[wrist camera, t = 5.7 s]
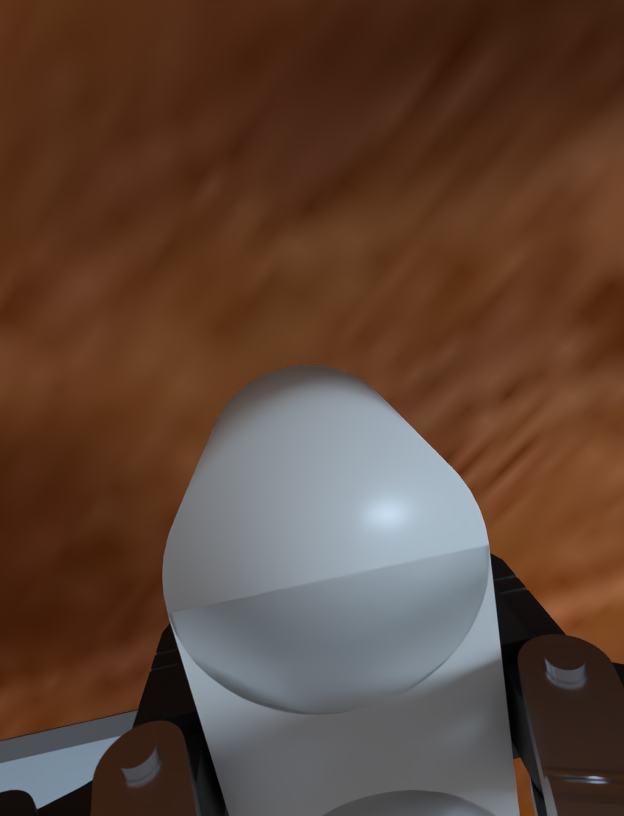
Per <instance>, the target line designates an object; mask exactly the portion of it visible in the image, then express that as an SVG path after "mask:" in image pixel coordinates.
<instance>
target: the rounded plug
mask: <svg viewBox="0 0 624 816" xmlns="http://www.w3.org/2000/svg"><path fill="white" fill-rule="evenodd" d="M162 579H163V594H164V599H165V603H166V608H167V612H168V616H169V619H170V622H171V626H172V629H173V632H174V636H175V639H176V642H177V646H178V649H179V652H180V655H181V659H182V662H183V665H184V669H185V672H186V675H187V678H188V682H189V685H190V688H191V692H192V695H193V698H194V702H195V705H196V708H197V711H198V715H199V718H200V721H201V725H202V728H203V731H204V735H205V738H206V741H207V744H208V748H209V751H210V754H211V758H212V761H213V764H214V767H215V771H216V774H217V777H218V781H219V784H220V787H221V791H222V794H223V797H224V800H225V804H226V807H227V810H228V814H229V816H520V815H519V807H518V798H517V789H516V780H515V771H514V762H513V753H512V745H511V736H510V727H509V718H508V709H507V700H506V691H505V682H504V674H503V665H502V656H501V647H500V638H499V629H498V620H497V612H496V603H495V594H494V585H493V576H492V567H491V558H490V549H489V542H488V537H487V532H486V526H485V523H484V520H483V517H482V515H481V512H480V509H479V507H478V505H477V503H476V501H475V499H474V497H473V495H472V493H471V491H470V490H469V488H468V487H467V486H466V484H465V483H464V481H463V480H462V479H461V477H460V476H459V475H458V473H457V472H456V471H455V470H454V469H453V468H452V467H451V466H450V465H449V464H448V463H447V462H446V461H445V460H444V459H443V458H442V457H441V456H440V455H439V454H438V453H437V452H436V451H435V450H434V449H433V448H432V447H431V446H430V445H429V444H428V443H427V442H426V441H425V440H424V439H423V438H422V437H421V436H420V435H419V434H418V433H417V432H416V431H415V430H414V429H413V428H412V427H411V426H410V425H409V424H408V423H407V422H406V421H405V420H404V419H403V418H402V417H401V416H400V415H399V414H398V413H397V412H396V411H395V410H394V409H393V408H392V407H391V406H390V405H389V404H388V403H387V402H386V401H385V400H384V399H383V398H382V397H381V396H380V395H379V394H378V392H377V391H376V390H374V389H373V388H372V387H371V386H369V385H368V384H367V383H365V382H364V381H362V380H361V379H359V378H357V377H355V376H354V375H351V374H349V373H347V372H344V371H342V370H338V369H334V368H331V367H326V366H318V365H299V366H291V367H286V368H282V369H278V370H274V371H272V372H270V373H267V374H265V375H262V376H260V377H259V378H257V379H255V380H254V381H252V382H250V383H249V384H247V385H246V386H245V387H244V388H242V389H241V390H240V391H239V392H238V393H237V394H236V395H235V396H234V397H233V398H232V399H231V400H230V401H229V402H228V403H227V405H226V406H225V407H224V409H223V410H222V411H221V413H220V415H219V417H218V418H217V420H216V422H215V424H214V427H213V429H212V431H211V434H210V436H209V439H208V441H207V443H206V446H205V448H204V451H203V453H202V455H201V458H200V460H199V462H198V465H197V467H196V470H195V472H194V474H193V477H192V479H191V481H190V484H189V486H188V489H187V491H186V493H185V496H184V498H183V500H182V503H181V505H180V508H179V510H178V512H177V515H176V517H175V520H174V522H173V525H172V527H171V530H170V533H169V535H168V539H167V543H166V548H165V552H164V559H163V571H162Z"/></svg>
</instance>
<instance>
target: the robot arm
mask: <svg viewBox="0 0 624 816" xmlns="http://www.w3.org/2000/svg"><path fill="white" fill-rule="evenodd" d="M490 558H491V567H492V576H493V585H494V594H495V603H496V612H497V620H498V629H499V638H500V647H501V656H502V665H503V674H504V682H505V691H506V700H507V709H508V718H509V727H510V736H511V745H512V753H513V759H515V758H519V757H521V759H522V761H523V763H524V765H525V767H526V769H527V771H528V773H529V776H530V785H531V795H532V800H533V805H534V810H535V815H536V816H624V664H618V663H613V662H611V660H610V659H609V658H608V657H607V655H606V654H605V653H604V652H602V651H601V650H600V649H599V648H597V647H596V646H594V645H593V644H591V643H589V642H587V641H585V640H582V639H579V638H576V637H573V636H568V635H566V634H565V633H564V632H563V631H562V630H561V628H560V627H559V626H558V625H557V624H556V623H555V621H554V620H553V619H552V618H551V617H550V615H549V614H548V613H547V612H546V611H545V609H544V608H543V607H542V606H541V605H540V603H539V602H538V601H537V600H536V599H535V598H534V596H533V595H532V594H531V593H530V592H529V590H526V587H525V586H524V584H523V583H522V582H521V581H520V580H519V579H518V578H516V576H515V574H514V573H513V571H512V570H511V569H510V568H509V567H508V565H507V564H506V563H505V562H504V561H503V560H502V559H500V558H498V557H496V556H494V555H493V554H491V553H490ZM156 652H157V655H155V658H154V661H153V664H152V667H151V668H152V671H151V672H150V673H149V676H148V680H147V683H146V686H145V689H144V692H143V695H142V698H141V702H140V705H139V708H138V711H137V714H136V717H135V720H134V724H133V727H132V729H131V730H129V731H128V732H126V733H125V734H123V735H122V736H121V737H119V738H118V739H117V740H116V741H115V742H114V743H113V744H112V745H111V746H110V747H109V748H108V749H107V750H106V752H105V753H104V754H103V756H102V757H101V759H100V760H99V762H98V764H97V766H96V769H95V772H94V775H93V780H91V781H90V782H88V783H87V784H85V785H83V786H81V787H80V788H78V789H76V790H74V791H72V792H70V793H68V794H66V795H64V796H62V797H60V798H58V799H56V800H54V801H52V802H50V803H48V804H46V805H45V806H43V807H41V808H39V809H37V807H36V805H35V803H34V800H33V798H32V797H31V795H30V794H29V793H27V792H25V791H22V790H8V791H3V792H0V816H229V814H228V810H227V807H226V804H225V800H224V797H223V794H222V791H221V787H220V784H219V781H218V777H217V774H216V771H215V767H214V764H213V761H212V758H211V754H210V751H209V748H208V744H207V741H206V738H205V735H204V731H203V728H202V725H201V721H200V718H199V715H198V711H197V708H196V705H195V702H194V698H193V695H192V692H191V688H190V685H189V682H188V678H187V675H186V672H185V669H184V665H183V662H182V659H181V655H180V652H179V649H178V646H177V642H176V639H175V636H174V632H173V629H172V626H171V623H170V624H169V625H168V626H167V628H166V629H165V630H164V631H163V633H162V635H161V639H160V642H159V645H158V648H157V651H156Z"/></svg>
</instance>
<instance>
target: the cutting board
mask: <svg viewBox="0 0 624 816" xmlns="http://www.w3.org/2000/svg"><path fill="white" fill-rule="evenodd" d="M137 711H138V710H137ZM137 711H132V712H128V713H124V714H119V715H115V716H110V717H106V718H102V719H97V720H93V721H88V722H84V723H79V724H75V725H71V726H66V727H62V728H57V729H53V730H49V731H44V732H40V733H35V734H31V735H26V736H22V737H18V738H13V739H9V740H4V741H0V792H3V791H8V790H22V791H25V792H27V793H29V794H30V795H31V797H32V798H33V800H34V803H35V805H36V807H37V809H39V808H41V807H43V806H45V805H46V804H48V803H50V802H52V801H54V800H56V799H58V798H60V797H62V796H64V795H66V794H68V793H70V792H72V791H74V790H76V789H78V788H80V787H81V786H83V785H85V784H87V783H88V782H90V781H91V780H93V775H94V772H95V769H96V766H97V764H98V762H99V760H100V759H101V757H102V756H103V754H104V753H105V752H106V750H107V749H108V748H109V747H110V746H111V745H112V744H113V743H114V742H115V741H116V740H117V739H118V738H119V737H121V736H122V735H123V734H125V733H126V732H128V731H129V730H131V729H132V727H133V724H134V720H135V717H136V714H137Z"/></svg>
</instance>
